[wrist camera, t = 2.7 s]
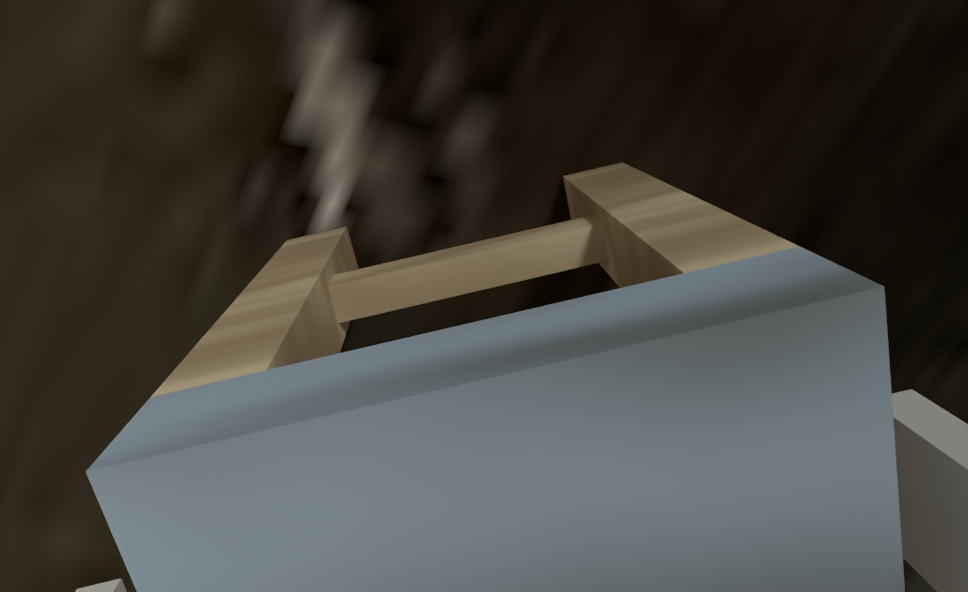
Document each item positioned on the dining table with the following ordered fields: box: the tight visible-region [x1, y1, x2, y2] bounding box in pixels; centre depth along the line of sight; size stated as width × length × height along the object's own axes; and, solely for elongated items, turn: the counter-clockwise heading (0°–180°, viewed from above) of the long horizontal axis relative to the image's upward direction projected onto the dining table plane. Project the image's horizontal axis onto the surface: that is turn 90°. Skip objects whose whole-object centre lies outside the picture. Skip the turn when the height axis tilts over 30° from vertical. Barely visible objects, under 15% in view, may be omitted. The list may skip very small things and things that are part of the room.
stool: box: [86, 162, 905, 592], centre depth 15 cm, size 9×9×12 cm
